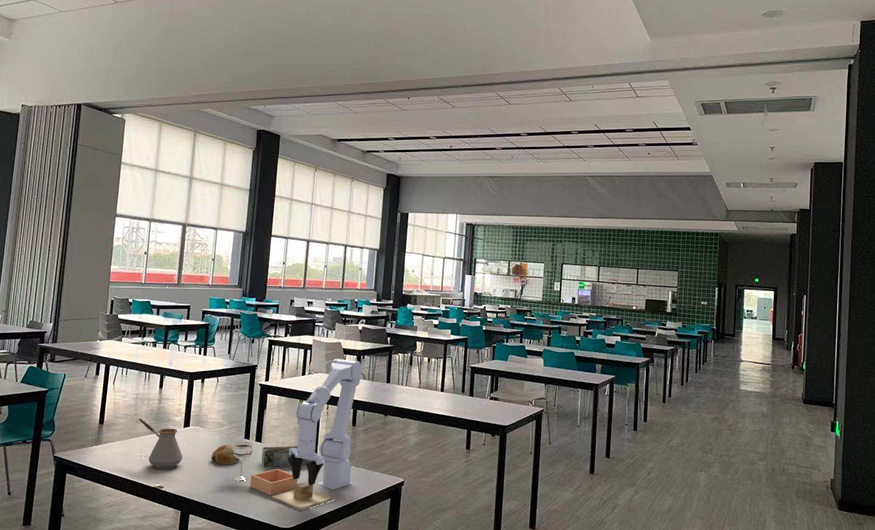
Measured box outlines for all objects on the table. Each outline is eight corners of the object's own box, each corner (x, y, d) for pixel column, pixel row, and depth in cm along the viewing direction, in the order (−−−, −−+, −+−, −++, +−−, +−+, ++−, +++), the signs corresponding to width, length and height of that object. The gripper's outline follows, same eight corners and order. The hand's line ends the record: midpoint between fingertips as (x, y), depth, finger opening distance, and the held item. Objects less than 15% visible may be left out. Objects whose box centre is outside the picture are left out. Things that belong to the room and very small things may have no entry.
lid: (305, 489, 217) (306, 474, 217) (333, 500, 208) (334, 485, 208) (271, 498, 206) (272, 483, 206) (299, 510, 197) (301, 495, 197)
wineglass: (254, 477, 227) (256, 443, 227) (243, 482, 220) (246, 448, 221) (237, 474, 229) (240, 441, 229) (226, 479, 222) (229, 445, 222)
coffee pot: (188, 465, 236) (191, 424, 236) (163, 472, 225) (166, 430, 226) (148, 454, 245) (151, 415, 245) (122, 461, 235) (125, 420, 235)
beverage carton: (260, 462, 246) (262, 445, 246) (310, 460, 253) (311, 443, 253) (263, 468, 239) (264, 450, 239) (314, 466, 246) (315, 449, 246)
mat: (305, 489, 218) (305, 487, 218) (337, 501, 209) (337, 500, 209) (267, 500, 206) (267, 498, 206) (299, 513, 196) (299, 512, 196)
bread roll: (228, 475, 239) (239, 456, 239) (205, 461, 239) (215, 443, 239) (237, 467, 249) (247, 449, 249) (214, 454, 249) (224, 436, 249)
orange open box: (276, 481, 224) (277, 468, 224) (296, 489, 217) (297, 476, 217) (250, 488, 215) (251, 475, 215) (270, 497, 209) (271, 483, 209)
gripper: (282, 436, 209) (279, 478, 208) (312, 446, 200) (309, 489, 200) (299, 433, 214) (296, 474, 214) (329, 442, 206) (325, 485, 205)
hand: (303, 481), depth 207 cm, fingers open, 7 cm apart
